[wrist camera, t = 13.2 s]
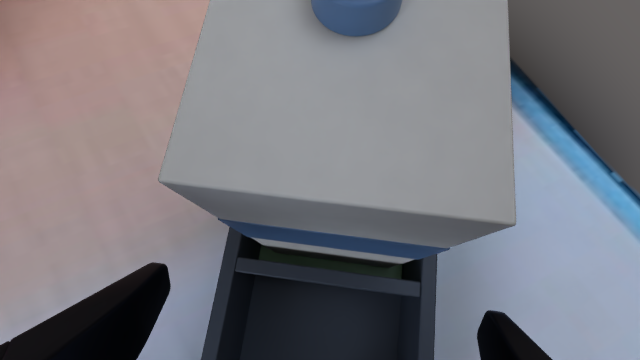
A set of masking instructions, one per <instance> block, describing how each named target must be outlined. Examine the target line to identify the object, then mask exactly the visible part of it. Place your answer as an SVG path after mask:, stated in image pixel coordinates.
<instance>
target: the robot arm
mask: <svg viewBox="0 0 640 360" xmlns="http://www.w3.org/2000/svg"><path fill="white" fill-rule="evenodd" d="M169 292H170V279H169V273H168V268H167V266H166V265H165V264H161V263H154V262H153V263H149V264H147V265H146V266H144V267H142V268H140V269H138V270H137V271H135V272H133V273H131V274H129V275H127V276H126V277H124V278H122V279H120V280H118V281H117V282H115V283H113V284H111V285H109V286H107V287H106V288H104V289H102V290H100V291H98V292H97V293H95V294H93V295H91V296H89V297H87V298H86V299H84V300H82V301H80V302H78V303H77V304H75V305H73V306H71V307H69V308H67V309H66V310H64V311H62V312H60V313H58V314H57V315H55V316H53V317H51V318H49V319H47V320H46V321H44V322H42V323H40V324H38V325H37V326H35V327H33V328H31V329H29V330H27V331H26V332H24V333H22V334H20V335H18V336H17V337H15V338H13V339H12V340H11V341H10V342H9V341H8V342H5V343H4V344H2V345H0V360H136V359H137V358H138V356H139V354H140V353H141V351H142V349H143V347H144V345H145V344H146V342H147V340H148V338H149V336H150V334H151V331H152V329H153V327H154V325H155V323H156V321H157V318H158V316H159V314H160V312H161V310H162V308H163V305H164V303H165V301H166V299H167V297H168V295H169ZM477 340H478V346H479V352H480V358H481V360H552V359H551V358H550V357H549V356H548V355H547V354H546V353H545V352H544V351H543V350H542V349H541V348H540V347H539V346H538V345H537V344H536V343H535V342H534V341H533V340H532V339H531V338H530V337H529V336H528V335H527V334H526V333H524V332H523V331H522V330H521V329H520V328H519V327H518V326H517V325H516V324H515V323H514V322H513V321H512V320H511V319H510V318H509V317H508V316H507V315H506V314H505V313H503V312H498V311H491V310H488V311H487V312H486V313H485V315H484V317H483V319H482V322H481V324H480V327H479V329H478V333H477Z"/></svg>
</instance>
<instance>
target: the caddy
mask: <svg viewBox="0 0 640 360" xmlns="http://www.w3.org/2000/svg"><path fill="white" fill-rule="evenodd" d="M436 274H437V254H434V255H431V256H428V257H425V258H422V259H419V260H417V259H415V260H412V261H409V262H406V263H403V264H400V265H397V266H394V267H391V268H384V267H377V266H370V265H362V264H355V263H348V262H340V261H333V260H325V259H318V258H311V257H303V256H296V255H288V254H281V253H275V252H274V251H272V250H270V249H269V248H267V247H265V246H264V245H262V244H261V243H259V242H257V241H256V240H254V239H252V238H251V237H247V236H245V235H243V234H242V233H240V232H238V231H236V230H235V229H233V228H231V227H230V228H229V232H228V237H227V242H226V246H225V251H224V256H223V260H222V265H221V270H220V274H219V279H218V284H217V288H216V293H215V297H214V302H213V307H212V311H211V316H210V321H209V325H208V330H207V335H206V339H205V344H204V349H203V353H202V358H201V360H434V339H435V306H436Z"/></svg>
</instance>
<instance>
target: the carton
mask: <svg viewBox="0 0 640 360" xmlns="http://www.w3.org/2000/svg"><path fill="white" fill-rule="evenodd" d="M158 181H159V182H160V183H162V184H163V185H165V186H167V187H168V188H170V189H172V190H173V191H175V192H177V193H178V194H180V195H182V196H183V197H185V198H186V199H188V200H190V201H191V202H193V203H195V204H196V205H198V206H200V207H201V208H203V209H205V210H206V211H208V212H210V213H211V214H213V215H214V216H216V217H218V220H220V221H221V222H223V223H225V224H226V225H228V226H230V227H231V228H233V229H235V230H236V231H238V232H240V233H242V234H243V235H245V236H247V237H251V238H252V239H254V240H256V241H257V242H259V243H261V244H262V245H264V246H265V247H267V248H269V249H270V250H272V251H274V252H275V253H281V254H288V255H296V256H303V257H311V258H318V259H325V260H333V261H340V262H348V263H355V264H362V265H370V266H377V267H384V268H391V267H394V266H397V265H400V264H403V263H406V262H409V261H412V260H415V259H417V260H419V259H422V258H425V257H428V256H431V255H434V254H437V253H440V252H443V251H446V250H449V249H450V247H453V246H456V245H459V244H462V243H465V242H467V241H470V240H473V239H476V238H479V237H482V236H485V235H488V234H491V233H494V232H497V231H500V230H503V229H506V228H509V227H512V226H514V225H515V224H516V206H515V180H514V154H513V128H512V101H511V75H510V50H509V23H508V0H210V3H209V6H208V10H207V13H206V16H205V20H204V23H203V27H202V30H201V34H200V37H199V40H198V44H197V47H196V51H195V54H194V58H193V61H192V65H191V68H190V71H189V75H188V78H187V82H186V85H185V89H184V92H183V95H182V99H181V102H180V106H179V109H178V113H177V116H176V119H175V123H174V126H173V130H172V133H171V137H170V140H169V143H168V147H167V150H166V154H165V157H164V161H163V164H162V168H161V171H160V174H159V178H158Z"/></svg>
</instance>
